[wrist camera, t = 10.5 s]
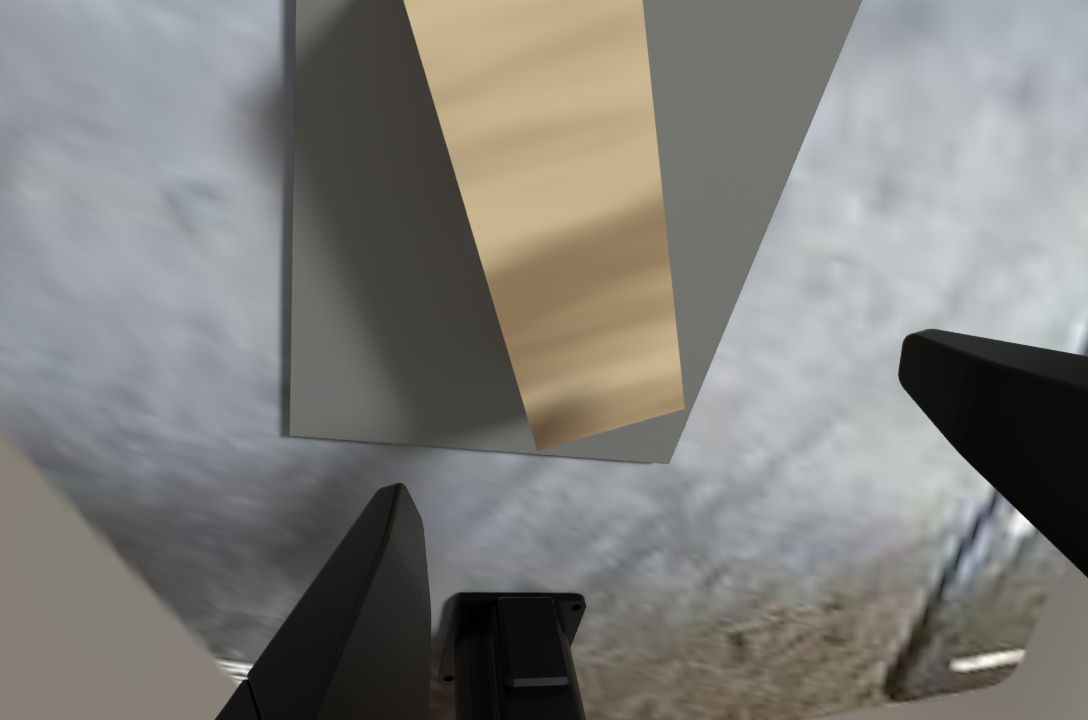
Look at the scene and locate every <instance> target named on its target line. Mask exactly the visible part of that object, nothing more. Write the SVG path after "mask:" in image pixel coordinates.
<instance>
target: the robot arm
mask: <svg viewBox="0 0 1088 720" xmlns="http://www.w3.org/2000/svg"><path fill="white" fill-rule="evenodd" d="M898 376H899V381H900V383H901V385H902V387H903V388H904V389H905V391H906V392H907V393H908V394H909V395H910V397H911V398H912V399H913V400H914V401H915V402H916V404H917V405H918V406H919V407H920V408H921V409H922V411H923V412H924V413H925V414H926V415H927V417H928V418H929V419H930V420H931V421H932V422H933V424H934V425H935V426H936V427H937V428H938V429H939V431H940V432H941V433H942V434H943V435H944V437H945V438H946V439H947V440H948V441H949V442H950V444H951V445H952V446H953V447H954V448H955V449H956V450H957V451H958V452H959V454H960V455H961V456H962V457H963V458H964V459H965V460H966V461H967V462H968V463H969V464H970V465H971V466H972V467H973V468H974V469H975V470H976V471H978V472H979V473H980V474H981V475H982V476H983V477H984V478H985V479H986V480H987V481H988V482H989V483H990V484H991V485H992V486H993V487H994V488H995V489H996V490H997V491H998V492H999V493H1000V494H1001V495H1002V496H1003V497H1004V498H1005V499H1006V500H1008V501H1009V502H1010V503H1011V504H1012V505H1013V506H1014V507H1015V508H1016V509H1017V510H1018V511H1019V512H1020V513H1021V514H1022V515H1023V516H1024V517H1025V518H1026V519H1027V520H1028V521H1029V522H1030V523H1031V524H1032V525H1033V526H1034V527H1035V528H1037V529H1038V530H1039V531H1040V532H1041V533H1042V534H1043V535H1044V536H1045V537H1046V538H1047V539H1048V540H1049V541H1050V542H1051V543H1052V544H1053V545H1054V546H1055V547H1056V548H1057V549H1058V550H1059V551H1060V552H1061V553H1062V554H1063V555H1064V556H1065V557H1067V558H1068V559H1069V560H1070V561H1071V562H1072V563H1073V564H1074V565H1075V566H1076V567H1077V568H1078V569H1079V570H1080V571H1081V572H1082V573H1083V574H1084V575H1085V576H1086V577H1087V578H1088V356H1084V355H1078V354H1072V353H1067V352H1061V351H1056V350H1050V349H1044V348H1039V347H1033V346H1027V345H1022V344H1016V343H1011V342H1005V341H999V340H994V339H988V338H983V337H977V336H971V335H966V334H960V333H954V332H949V331H943V330H938V329H926V330H923V331H919V332H916V333H912V334H910V335H908V336H906V338H905V339H904V341H903V344H902V351H901V357H900V364H899V371H898ZM585 608H586V603H585V599H584V597H583V596H582V595H580V594H508V593H465V594H461V595H459V596H457V597H456V599H455V601H454V606H453V610H452V615H451V619H450V624H449V628H448V633H447V637H446V642H445V646H444V651H443V655H442V660H441V664H440V669H439V681H440V682H441V683H442V684H455V704H456V720H586V717H585V713H584V708H583V704H582V699H581V695H580V690H579V686H578V681H577V677H576V672H575V668H574V663H573V659H572V654H571V650H570V647H571V645H572V642H573V639H574V637H575V634H576V632H577V629H578V627H579V624H580V621H581V619H582V616H583V614H584V611H585ZM430 656H431V603H430V591H429V581H428V570H427V560H426V549H425V539H424V528H423V523H422V519H421V516H420V514H419V512H418V510H417V508H416V506H415V504H414V502H413V500H412V498H411V496H410V494H409V492H408V489H407V488H406V486H405V485H404V484H402V483H396V484H393V485H389V486H386V487H383V488H380V489H379V490H378V491H377V492H376V493H375V494H374V496H373V497H372V499H371V500H370V501H369V503H368V504H367V506H366V507H365V508H364V510H363V511H362V513H361V514H360V516H359V517H358V518H357V520H356V521H355V523H354V524H353V525H352V527H351V528H350V530H349V531H348V533H347V534H346V535H345V537H344V538H343V540H342V541H341V542H340V544H339V545H338V547H337V548H336V550H335V551H334V552H333V554H332V555H331V557H330V558H329V559H328V561H327V562H326V564H325V565H324V567H323V568H322V569H321V571H320V572H319V574H318V575H317V576H316V578H315V579H314V581H313V582H312V583H311V585H310V586H309V588H308V589H307V591H306V592H305V593H304V595H303V596H302V598H301V599H300V600H299V602H298V603H297V605H296V606H295V608H294V609H293V610H292V612H291V613H290V615H289V616H288V617H287V619H286V620H285V622H284V623H283V625H282V626H281V627H280V629H279V630H278V632H277V633H276V634H275V636H274V637H273V639H272V640H271V642H270V643H269V644H268V646H267V647H266V649H265V650H264V651H263V653H262V654H261V656H260V657H259V659H258V660H257V661H256V663H255V664H254V666H253V667H252V668H251V670H250V671H249V673H248V674H247V678H248V680H247V679H245V680H243V681H242V682H241V684H240V685H239V687H238V688H237V689H236V691H235V692H234V694H233V695H232V697H231V698H230V699H229V701H228V702H227V704H226V705H225V706H224V708H223V709H222V710H221V712H220V713H219V715H218V716H217V717H216V719H215V720H429V699H430Z"/></svg>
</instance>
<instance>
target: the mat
mask: <svg viewBox="0 0 1088 720" xmlns="http://www.w3.org/2000/svg"><path fill="white" fill-rule="evenodd" d="M861 2H862V0H643V10H644V20H645V29H646V39H647V48H648V58H649V68H650V77H651V87H652V97H653V106H654V116H655V125H656V135H657V145H658V154H659V164H660V173H661V183H662V193H663V202H664V212H665V222H666V231H667V241H668V250H669V260H670V270H671V279H672V289H673V298H674V308H675V318H676V327H677V337H678V347H679V356H680V366H681V375H682V385H683V395H684V404H685V409H682V410H679V411H675V412H672V413H668V414H665V415H661V416H658V417H654V418H651V419H647V420H644V421H640V422H637V423H633V424H630V425H626V426H623V427H620V428H616V429H613V430H609V431H606V432H602V433H599V434H595V435H592V436H588V437H585V438H581V439H578V440H574V441H571V442H567V443H564V444H560V445H557V446H554V447H550V448H547V449H543V450H540V451H537V448H536V444H535V441H534V438H533V434H532V431H531V428H530V424H529V421H528V417H527V414H526V411H525V407H524V404H523V401H522V397H521V394H520V391H519V387H518V384H517V380H516V377H515V374H514V370H513V367H512V364H511V360H510V357H509V354H508V350H507V347H506V343H505V340H504V337H503V333H502V330H501V327H500V323H499V320H498V317H497V313H496V310H495V306H494V303H493V300H492V296H491V293H490V290H489V286H488V283H487V280H486V276H485V273H484V269H483V266H482V263H481V259H480V256H479V253H478V249H477V246H476V243H475V239H474V236H473V232H472V229H471V226H470V222H469V219H468V216H467V212H466V209H465V205H464V202H463V199H462V195H461V192H460V189H459V185H458V182H457V179H456V175H455V172H454V168H453V165H452V162H451V158H450V155H449V152H448V148H447V145H446V142H445V138H444V135H443V131H442V128H441V125H440V121H439V118H438V115H437V111H436V108H435V105H434V101H433V98H432V94H431V91H430V88H429V84H428V81H427V78H426V74H425V71H424V68H423V64H422V61H421V57H420V54H419V51H418V47H417V44H416V41H415V37H414V34H413V31H412V27H411V24H410V20H409V17H408V14H407V10H406V7H405V4H404V0H296V43H295V110H294V178H293V245H292V313H291V380H290V436H302V437H315V438H328V439H342V440H355V441H368V442H381V443H395V444H408V445H421V446H435V447H448V448H461V449H475V450H488V451H501V452H515V453H528V454H541V455H555V456H568V457H581V458H594V459H608V460H621V461H634V462H648V463H661V464H669V463H670V460H671V458H672V456H673V453H674V451H675V448H676V446H677V444H678V441H679V439H680V436H681V434H682V432H683V429H684V427H685V424H686V422H687V420H688V417H689V415H690V412H691V410H692V408H693V405H694V403H695V400H696V398H697V396H698V393H699V391H700V388H701V386H702V384H703V381H704V379H705V376H706V374H707V372H708V369H709V367H710V364H711V362H712V359H713V357H714V355H715V352H716V350H717V347H718V345H719V343H720V340H721V338H722V335H723V333H724V331H725V328H726V326H727V323H728V321H729V319H730V316H731V314H732V311H733V309H734V307H735V304H736V302H737V299H738V297H739V295H740V292H741V290H742V287H743V285H744V283H745V280H746V278H747V275H748V273H749V271H750V268H751V266H752V263H753V261H754V259H755V256H756V254H757V251H758V249H759V247H760V244H761V242H762V239H763V237H764V235H765V232H766V230H767V227H768V225H769V223H770V220H771V218H772V215H773V213H774V211H775V208H776V206H777V203H778V201H779V199H780V196H781V194H782V191H783V189H784V187H785V184H786V182H787V179H788V177H789V175H790V172H791V170H792V167H793V165H794V163H795V160H796V158H797V155H798V153H799V151H800V148H801V146H802V143H803V141H804V139H805V136H806V134H807V131H808V129H809V127H810V124H811V122H812V119H813V117H814V115H815V112H816V110H817V107H818V105H819V103H820V100H821V98H822V95H823V93H824V91H825V88H826V86H827V83H828V81H829V79H830V76H831V74H832V71H833V69H834V67H835V64H836V62H837V59H838V57H839V55H840V52H841V50H842V47H843V45H844V43H845V40H846V38H847V35H848V33H849V31H850V28H851V26H852V23H853V21H854V19H855V16H856V14H857V11H858V9H859V7H860V4H861Z"/></svg>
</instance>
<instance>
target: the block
mask: <svg viewBox="0 0 1088 720" xmlns="http://www.w3.org/2000/svg"><path fill="white" fill-rule="evenodd" d="M404 4H405V7H406V10H407V14H408V17H409V20H410V24H411V27H412V31H413V34H414V37H415V41H416V44H417V47H418V51H419V54H420V57H421V61H422V64H423V68H424V71H425V74H426V78H427V81H428V84H429V88H430V91H431V94H432V98H433V101H434V105H435V108H436V111H437V115H438V118H439V121H440V125H441V128H442V131H443V135H444V138H445V142H446V145H447V148H448V152H449V155H450V158H451V162H452V165H453V168H454V172H455V175H456V179H457V182H458V185H459V189H460V192H461V195H462V199H463V202H464V205H465V209H466V212H467V216H468V219H469V222H470V226H471V229H472V232H473V236H474V239H475V243H476V246H477V249H478V253H479V256H480V259H481V263H482V266H483V269H484V273H485V276H486V280H487V283H488V286H489V290H490V293H491V296H492V300H493V303H494V306H495V310H496V313H497V317H498V320H499V323H500V327H501V330H502V333H503V337H504V340H505V343H506V347H507V350H508V354H509V357H510V360H511V364H512V367H513V370H514V374H515V377H516V380H517V384H518V387H519V391H520V394H521V397H522V401H523V404H524V407H525V411H526V414H527V417H528V421H529V424H530V428H531V431H532V434H533V438H534V441H535V444H536V448H537V451H540V450H543V449H547V448H550V447H554V446H557V445H560V444H564V443H567V442H571V441H574V440H578V439H581V438H585V437H588V436H592V435H595V434H599V433H602V432H606V431H609V430H613V429H616V428H620V427H623V426H626V425H630V424H633V423H637V422H640V421H644V420H647V419H651V418H654V417H658V416H661V415H665V414H668V413H672V412H675V411H679V410H682V409H685V404H684V395H683V385H682V375H681V366H680V356H679V347H678V337H677V327H676V318H675V308H674V298H673V289H672V279H671V270H670V260H669V250H668V241H667V231H666V222H665V212H664V202H663V193H662V183H661V173H660V164H659V154H658V145H657V135H656V125H655V116H654V106H653V97H652V87H651V77H650V68H649V58H648V48H647V39H646V29H645V20H644V10H643V0H404Z"/></svg>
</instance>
